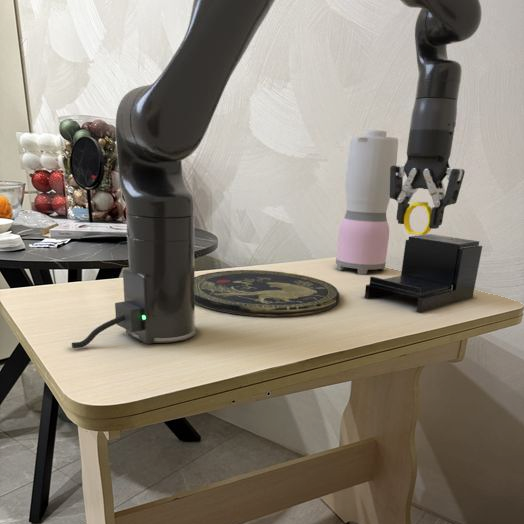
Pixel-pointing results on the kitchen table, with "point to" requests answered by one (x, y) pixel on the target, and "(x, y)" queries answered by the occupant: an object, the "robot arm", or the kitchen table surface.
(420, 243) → the black stepped block
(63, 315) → the kitchen table surface
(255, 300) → the decorative plate
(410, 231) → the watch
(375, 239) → the blender
